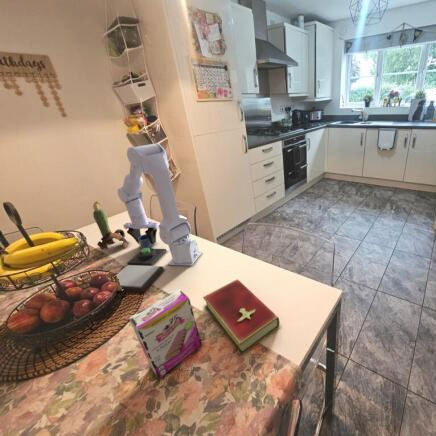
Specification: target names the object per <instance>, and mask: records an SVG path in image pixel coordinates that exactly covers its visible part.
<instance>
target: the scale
mask: <svg viewBox="0 0 436 436" xmlns="http://www.w3.org/2000/svg"><path fill="white" fill-rule="evenodd" d="M164 271H165V270H164V267H163V265H162V266H161V265H153V266H137V265H128V264H127V265H126V266H125V267H124V268H123V269H122V270H120V271H119V272H118V273H117V274H115V276H117V278H118V279H119V282H120V286H122V289H124V290H123V292H122V293H128V294H129V293H133V294H144V293H146V291H147V290H148V289H149V287H150V286H152V284H153V283H154V282H155V281H156V280H157V279H158V278H159V276H160V275H161V274H162V273H163V272H164Z"/></svg>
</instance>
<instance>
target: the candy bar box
mask: <svg viewBox="0 0 436 436" xmlns="http://www.w3.org/2000/svg"><path fill="white" fill-rule="evenodd" d="M128 319H129V321H130V324H131V326H132V328H133V331H134V333H135V335H136V337H137V340H138V342H139V345H140V347H141V349H142V352H143V353H144V356H145V358H146V360H147V363H148V366H150V368H151V370H152V372H153V373H154V374H155V376H156V377H157V378H158V380H160V379H161V378H163V377H164V376H166V375H167V374H168V373H169V372H170V371H171V370H173V369H174V368H175V367H177V366H178V365H179V364H180V363H181V362H183V361H184V360H185V359H186V358H187V357H189V356H190V355H191V354H193V353H194V352H195V351H197V350H198V349H199V348H200V347H201V346H202V340H201V337H200V333H199V330H198V325H197V321H196V318H195V314H194V311H193V307H192V304H191V300H190V297H189V296H188V295H187V294H186V293H184V291H182V290H181V289H180V288H178V289H176V290H175V291H173V292H171V293H169V294H168V295H166V296H164V297H162V298H161V299H159V300H157V301H156V302H153V303H152V304H150V305H149V306H147V307H145V308H143V309H142V310H140V311H138V312H136V313H134V314H133V315H131V316H129V317H128Z"/></svg>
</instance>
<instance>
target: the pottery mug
mask: <svg viewBox="0 0 436 436" xmlns="http://www.w3.org/2000/svg"><path fill="white" fill-rule="evenodd" d="M125 233H126V232H125V231H124V229H123V230H122V229H121V228H118V229H116V230H114V232H112V231H111V232H108V233H107V234H106V235H104V236H102V237H101V238H100V241H98V242H97V246H98V247H99V249H100V250H101V251H102V250H105V249H107V250H109V247H108V245H114V244H116V242H115V241H114V239H115V240H117V241H119V242H122V244H121V246H122V247H123V248H124V249H126V248H127V247H128V246H129V242H128V240H127V239H126V238H125V236H126V234H125Z"/></svg>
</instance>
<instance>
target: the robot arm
mask: <svg viewBox="0 0 436 436" xmlns="http://www.w3.org/2000/svg"><path fill="white" fill-rule="evenodd" d="M126 157H127V159H128V162H129V163H130V164H129V165H130V167H129V173H127V174H125V176H124V180H123V183H122V187H119V188H117V196H118V198H119V199H120V201H121V202H122V203H124V206H125V209H126V211H127V214H128V216H129V220H130V222H125V223H124V224H123V228H124V230H127V231H126V233H127V235H129V236H131V237H132V238H133V239H134V241H135V242H136V243H137V244H138V245H139V242H138V237H140V236H141V235H142V233H141V229H146V230H145V231H144V234H147V235H148V237H149V239H150V242H151V244H154V243H155V244H156V242H157V231H158V229H159V232H158V235H159V238H160V240H161V242H162V243H163V244H165V245H167V246H168V248H169V252H170V255H171V260H170V261H169V262H168V265H169V266H188V267H189V266H190V267H191V266H193V265H194V264H195V262H196V261H197V260H198V258H199V257H200V256H201V252H200V250H199V247H198V242H197V240H195V239H192V238H190V237H191V235H190V234H191V233H192V227H191V225H190V223H189V221H188V218H187V217H186V216H183V215H180V214H179V209H178V204H177V200H176V199H177V198H176V196H175V195H176V194H175V191H174V187H173V182H172V178H171V174H170V169H169V168H170V164H169V160H168V155H167V151H166V149H165V148H164V146H162V145H161V144H160V143H159V142H153V143H149V144H144V145H138V146H130V147H128V148H127V151H126ZM143 174H145V175H150V177H152V180H153V184H154V188H155V193H156V196H157V200H158V202H159V208H160V211H161V215H162V220H161V221H160V223H158V222H153V221H149V219H148V217H147V214H146V211H145V208H144V206H143V202H144V200H143V192H142V191H141V189H142V186H143V183H144V179H143V177H142V175H143Z"/></svg>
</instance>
